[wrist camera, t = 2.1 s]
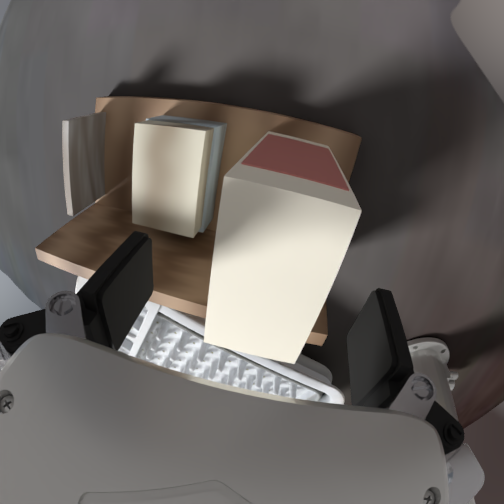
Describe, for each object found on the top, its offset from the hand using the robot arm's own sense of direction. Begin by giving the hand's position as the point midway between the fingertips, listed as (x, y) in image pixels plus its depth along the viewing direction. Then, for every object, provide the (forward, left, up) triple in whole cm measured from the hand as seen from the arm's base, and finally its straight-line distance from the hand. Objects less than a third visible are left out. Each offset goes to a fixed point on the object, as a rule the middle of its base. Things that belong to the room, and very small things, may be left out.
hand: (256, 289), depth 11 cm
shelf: (+7, +1, -17) cm, 18 cm away
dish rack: (+6, +30, -17) cm, 35 cm away
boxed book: (0, 0, -15) cm, 15 cm away
